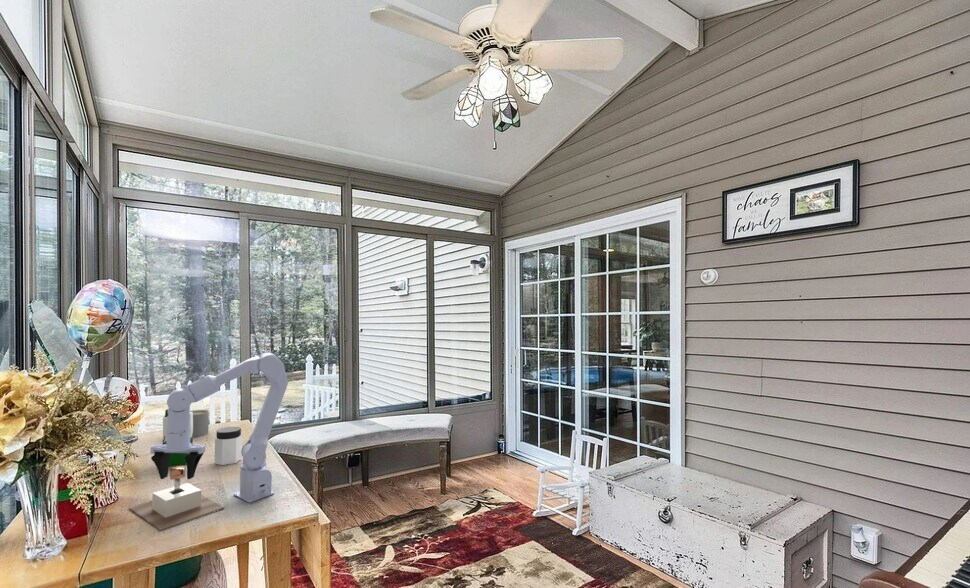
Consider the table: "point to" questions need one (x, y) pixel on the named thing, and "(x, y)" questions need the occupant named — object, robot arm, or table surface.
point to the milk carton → (176, 458)
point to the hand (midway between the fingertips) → (177, 477)
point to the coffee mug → (200, 422)
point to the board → (177, 519)
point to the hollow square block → (176, 500)
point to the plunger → (177, 477)
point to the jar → (228, 445)
